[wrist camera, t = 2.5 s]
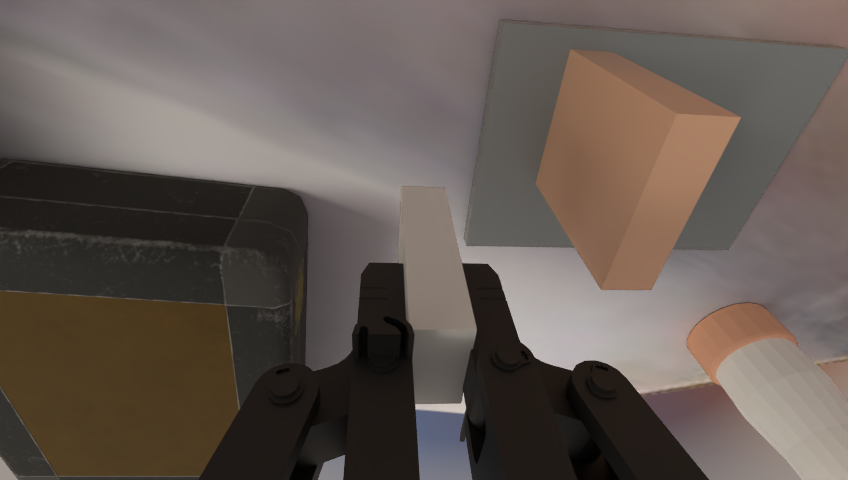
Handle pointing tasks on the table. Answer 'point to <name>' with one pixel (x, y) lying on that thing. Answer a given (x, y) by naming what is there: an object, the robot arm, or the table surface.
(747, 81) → the slate board
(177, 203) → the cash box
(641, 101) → the tile
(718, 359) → the salt shaker
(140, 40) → the table surface
